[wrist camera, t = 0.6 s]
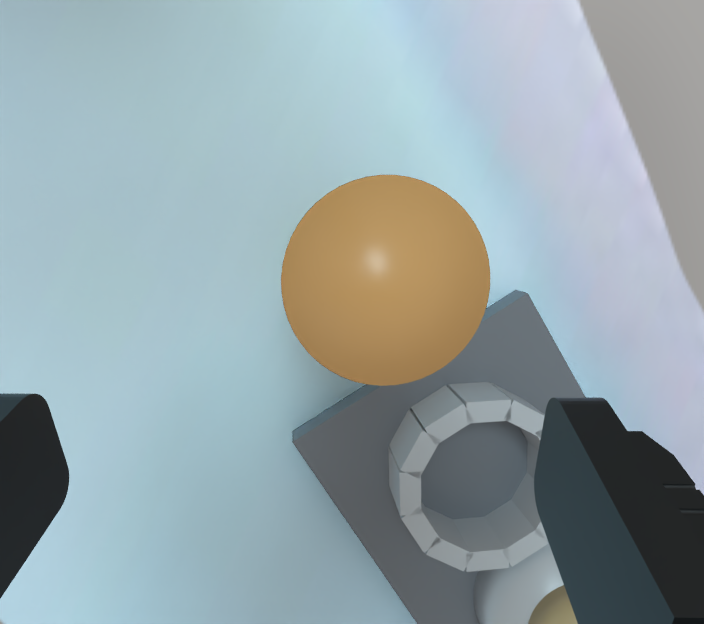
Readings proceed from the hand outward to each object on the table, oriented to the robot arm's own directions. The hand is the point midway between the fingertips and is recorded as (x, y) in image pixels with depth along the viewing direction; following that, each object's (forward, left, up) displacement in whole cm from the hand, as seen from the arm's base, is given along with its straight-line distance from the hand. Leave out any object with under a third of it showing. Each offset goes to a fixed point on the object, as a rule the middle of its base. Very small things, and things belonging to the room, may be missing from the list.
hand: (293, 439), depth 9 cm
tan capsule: (-2, +2, -19) cm, 19 cm away
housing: (+11, +12, -19) cm, 25 cm away
